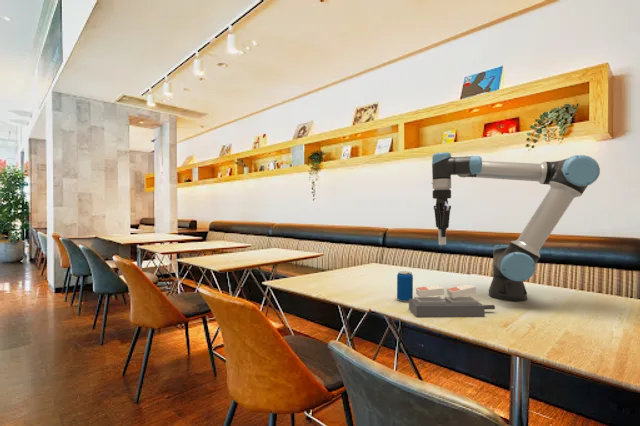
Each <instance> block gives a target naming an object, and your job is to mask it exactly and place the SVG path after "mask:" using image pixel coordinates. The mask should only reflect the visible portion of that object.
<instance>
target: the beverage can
mask: <svg viewBox="0 0 640 426" xmlns="http://www.w3.org/2000/svg"><path fill="white" fill-rule="evenodd" d="M413 280H414V275H413V273H412V272H411V271H406V270H405V271H404V270H402V271H398V272H397V275H396V299H397V300H398V301H399V302H401V303H402V302H403V303H409V299H414V297H413V296H414V295H413V293H414V292H413V291H414V290H413V289H414V288H413V287H414V281H413Z"/></svg>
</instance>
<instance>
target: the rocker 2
mask: <svg viewBox="0 0 640 426" xmlns="http://www.w3.org/2000/svg"><path fill="white" fill-rule="evenodd" d="M446 293H447V296H448V297H452V298H457V297H468V296H471V295H475V294H477V289H476V286H474V285H472V284H470V283H468V284H463V285H457V286H454V287H449V288H446Z"/></svg>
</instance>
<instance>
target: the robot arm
mask: <svg viewBox="0 0 640 426" xmlns="http://www.w3.org/2000/svg"><path fill="white" fill-rule="evenodd" d="M431 158H432V159H431V160H432V161H431V167H432V169H431V171H432V172H431V173H432V174H431V175H432V181H431V184H432V199H433V200H435V205H433V210H434V219H435V220H434V221H435V227H436V228H437V229H438V232H437V233H438V234H437V235H438V245H439V246H442V245H444V246H446V245H447V229H449V225H450V224H449V223H450V214H451V209H452V205H449V200H448V199H451V198H452V190H451V188H452V177H451V176H458V177H459V178H482V179H495V180H509V181H510V180H512V181H525V182H526V181H527V182H538V183H539V184H540V185H549V187H550V189H549V190H548V191H547V194H546V195H545V196H544V198H543V199H542V201H540V204H539V206H537V208H536V210H535V212H534V213H533V215H532V217H531V218H530V219H529V221H528V223H526V226H525V227H524V229H523V230H522V232H521V233H520V235H519V236H518V238H517V239H516V240H511V241H510V243H509V244H496V245H494V246H493V250H492V253H493V259H492V260H493V261H492V262H493V263H492V264H493V265H492V267H493V268H492V269H493V270H492V271H493V273H492V274H493V275H492V280H491V283H490V286H489V288H488V296H489V297H490V298H493V299H497V300H503V301H510V302H523V301H526V300H528V292H527V289H526V287H525V282H524V281H527V280H529V279H530V278H532V277H533V275H534V274H535V272H536V265H537V263H538V261H539V260H540V259H541V253H540V250H541V248H542V247H543V246H544V244H545V243H546V241H547V239H548V238H549V237H550V236H551V234H552V233H553V231H554V229H555V228H556V226H557V224H558V223H559V221H560V220H561V219H562V217H563V215H564V214H565V213H566V211H567V209H568V208H569V206H570V205H571V204H572V202H573V200H574V199H575V198H579V197H582V195H583V194H584V192H585V191H586V190H587V188H588V186H590V185H592V184H594V183H595V182H597V180H598V178H599V176H600V173H601V168H600V165H599V163H598V162H597V160H596V159H594V158H592V156H588V155H585V154H584V155H583V154H580V155H578V154H577V155H576V154H575V155H573V156H572V155H571V156H570V157H568V158H565V159H561V160H553V161H543V162H541V163H534V162H533V163H532V162H531V163H530V162H515V161H514V162H512V161H510V162H509V161H492V160H490V161H489V160H482V157H481V156H480V155H469V156H455V157H454V156H452V155H451V152H449V151H448V152H447V151H446V152H443V151H442V152H436V153H434V154H433V155H432V156H431Z"/></svg>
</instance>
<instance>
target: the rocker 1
mask: <svg viewBox="0 0 640 426" xmlns="http://www.w3.org/2000/svg"><path fill="white" fill-rule="evenodd" d="M415 293H416V294H415V295H416V296H417V297H439V296H445V288H444V287H442V286H441V285H438V284H437V285H430V286H420V287H419V286H418V287H415Z"/></svg>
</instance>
